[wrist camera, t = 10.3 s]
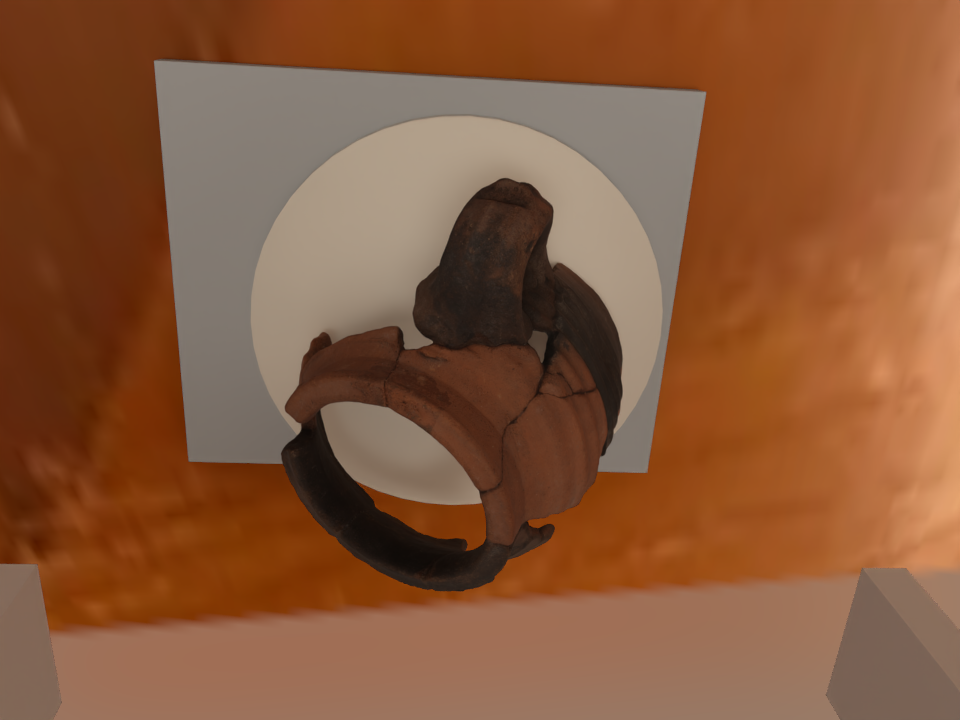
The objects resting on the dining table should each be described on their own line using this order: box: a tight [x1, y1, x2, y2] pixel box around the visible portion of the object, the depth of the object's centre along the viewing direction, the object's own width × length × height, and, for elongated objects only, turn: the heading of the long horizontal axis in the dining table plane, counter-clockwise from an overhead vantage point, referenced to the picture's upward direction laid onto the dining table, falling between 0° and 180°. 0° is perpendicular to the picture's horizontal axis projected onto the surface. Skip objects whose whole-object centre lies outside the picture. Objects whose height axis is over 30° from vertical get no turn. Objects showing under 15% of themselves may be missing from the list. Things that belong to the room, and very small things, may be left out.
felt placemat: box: [154, 59, 706, 473], centre depth 27 cm, size 16×13×1 cm
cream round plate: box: [251, 114, 663, 505], centre depth 27 cm, size 13×13×1 cm
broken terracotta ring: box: [281, 178, 623, 591], centre depth 24 cm, size 12×9×8 cm
